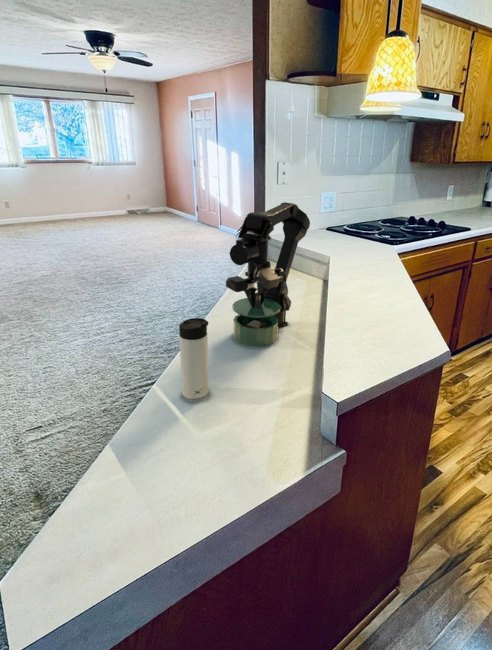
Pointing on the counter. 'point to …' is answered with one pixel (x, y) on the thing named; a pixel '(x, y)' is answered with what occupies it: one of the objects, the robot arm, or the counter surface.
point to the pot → (255, 331)
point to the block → (256, 324)
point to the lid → (256, 307)
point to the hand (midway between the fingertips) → (256, 305)
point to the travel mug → (194, 358)
